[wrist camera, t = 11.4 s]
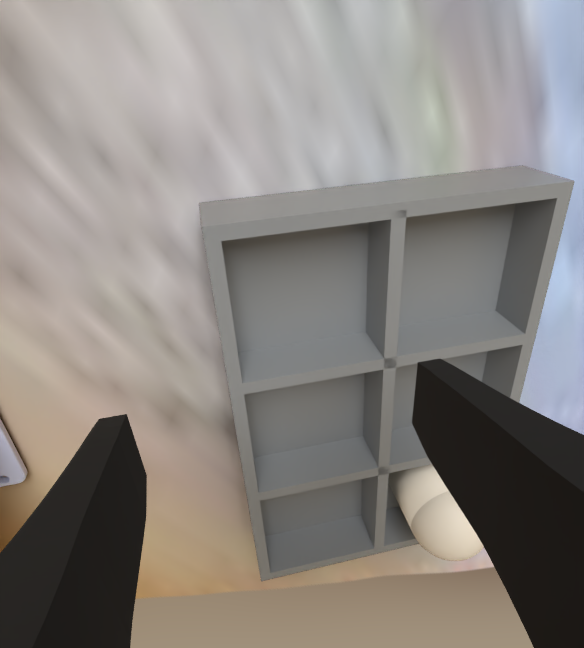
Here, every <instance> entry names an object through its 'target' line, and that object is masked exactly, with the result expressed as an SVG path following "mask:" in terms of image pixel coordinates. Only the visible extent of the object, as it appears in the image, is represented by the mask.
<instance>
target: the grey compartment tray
mask: <svg viewBox="0 0 584 648" xmlns="http://www.w3.org/2000/svg"><path fill="white" fill-rule="evenodd" d="M573 185H574V181H573V180H570V179H566V178H563V177H559V176H556V175H553V174H549V173H546V172H543V171H539V170H536V169H533V168H529V167H526V166H515V167H506V168H497V169H489V170H480V171H471V172H463V173H454V174H445V175H437V176H428V177H419V178H411V179H402V180H393V181H385V182H376V183H368V184H359V185H350V186H342V187H333V188H324V189H316V190H307V191H298V192H290V193H281V194H272V195H264V196H255V197H246V198H238V199H229V200H220V201H212V202H203V203H199V207H200V217H201V227H202V233H203V239H204V244H205V250H206V256H207V262H208V268H209V274H210V280H211V286H212V292H213V298H214V304H215V310H216V316H217V322H218V328H219V334H220V339H221V345H222V351H223V357H224V363H225V369H226V375H227V381H228V387H229V393H230V399H231V405H232V411H233V417H234V423H235V429H236V434H237V440H238V446H239V452H240V458H241V464H242V470H243V476H244V482H245V488H246V494H247V500H248V506H249V512H250V518H251V524H252V529H253V535H254V541H255V547H256V553H257V559H258V565H259V571H260V577H261V581H265V580H269V579H273V578H277V577H282V576H286V575H290V574H294V573H298V572H302V571H307V570H311V569H315V568H319V567H323V566H328V565H332V564H336V563H340V562H344V561H348V560H353V559H357V558H361V557H365V556H369V555H374V554H378V553H382V552H386V551H390V550H394V549H399V548H403V547H407V546H411V545H415V544H419V542H418V541H417V540H416V538H415V536H414V535H413V533H412V531H411V529H410V526H409V524H408V522H407V520H406V518H405V516H404V514H403V512H402V510H401V508H400V506H399V504H398V502H397V499H396V497H395V495H394V493H393V491H392V489H391V487H390V485H389V483H388V478H389V473H392V472H397V471H402V470H407V469H411V468H416V467H421V466H425V465H430V464H432V463H431V462H430V460H429V458H428V457H427V455H426V452H425V450H424V448H423V446H422V444H421V442H420V440H419V438H418V435H417V433H416V431H415V429H414V427H413V424H412V416H413V406H414V395H415V385H416V375H417V365H418V362H423V361H428V360H434V359H442V360H444V361H446V362H448V363H450V364H452V365H453V366H455V367H457V368H459V369H460V370H462V371H464V372H466V373H467V374H469V375H471V376H473V377H474V378H476V379H478V380H479V381H481V382H483V383H485V384H486V385H488V386H490V387H492V388H493V389H495V390H497V391H499V392H500V393H502V394H504V395H506V396H507V397H509V398H511V399H513V400H515V401H516V402H518V403H519V401H520V397H521V393H522V389H523V385H524V381H525V377H526V373H527V369H528V365H529V361H530V357H531V353H532V349H533V345H534V341H535V337H536V333H537V329H538V325H539V321H540V317H541V313H542V309H543V305H544V301H545V297H546V293H547V289H548V285H549V281H550V277H551V273H552V269H553V265H554V261H555V257H556V253H557V249H558V245H559V241H560V237H561V233H562V229H563V225H564V221H565V217H566V213H567V209H568V205H569V201H570V197H571V193H572V189H573Z"/></svg>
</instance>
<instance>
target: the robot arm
mask: <svg viewBox="0 0 584 648" xmlns="http://www.w3.org/2000/svg"><path fill="white" fill-rule="evenodd" d="M412 424H413V427H414V429H415V431H416V433H417V435H418V438H419V440H420V442H421V444H422V446H423V448H424V450H425V452H426V455H427V457H428V458H429V460H430V462H431V463H432V465H433V467H434V468H435V470H436V471H437V473H438V475H439V476H440V478H441V479H442V481H443V482H444V484H445V486H446V487H447V489H448V490H449V492H450V493H451V495H452V497H453V498H454V500H455V501H456V503H457V504H458V506H459V507H460V509H461V511H462V512H463V514H464V515H465V517H466V518H467V520H468V522H469V523H470V525H471V526H472V528H473V529H474V531H475V533H476V534H477V536H478V538H479V539H480V541H481V543H482V544H483V546H484V548H485V549H486V551H487V553H488V555H489V557H490V559H491V561H492V563H493V565H494V567H495V569H496V571H497V573H498V574H499V576H500V578H501V580H502V582H503V584H504V586H505V588H506V590H507V592H508V594H509V596H510V598H511V600H512V602H513V604H514V607H515V608H516V611H517V613H518V615H519V617H520V619H521V621H522V623H523V625H524V627H525V629H526V631H527V633H528V636H529V638H530V640H531V642H532V644H533V647H534V648H584V435H583V434H580V433H578V432H576V431H574V430H572V429H569V428H567V427H565V426H563V425H561V424H559V423H557V422H555V421H553V420H551V419H549V418H547V417H545V416H543V415H541V414H539V413H537V412H535V411H533V410H531V409H529V408H528V407H526V406H524V405H522V404H520V403H518V402H516V401H515V400H513V399H511V398H509V397H507V396H506V395H504V394H502V393H500V392H499V391H497V390H495V389H493V388H492V387H490V386H488V385H486V384H485V383H483V382H481V381H479V380H478V379H476V378H474V377H473V376H471V375H469V374H467V373H466V372H464V371H462V370H460V369H459V368H457V367H455V366H453V365H452V364H450V363H448V362H446V361H444V360H442V359H434V360H428V361H423V362H418V365H417V375H416V385H415V395H414V406H413V416H412ZM4 476H7V477H4ZM26 476H27V469H26V467H25V465H24V463H23V461H22V459H21V458H20V456H19V454H18V452H17V450H16V448H15V446H14V444H13V442H12V440H11V438H10V436H9V434H8V432H7V430H6V428H5V427H4V425H3V423H2V421H1V419H0V487H3V486H8V485H13V484H18V483H21V482H23V481H24V480H25V478H26ZM146 478H147V475H146V472H145V469H144V466H143V463H142V460H141V457H140V454H139V451H138V448H137V445H136V442H135V439H134V435H133V432H132V429H131V426H130V423H129V420H128V417H127V414H125V415H119V416H113V417H108V418H102V419H99V420H98V421H97V423H96V424H95V425H94V427H93V428H92V430H91V431H90V433H89V434H88V436H87V437H86V439H85V440H84V442H83V443H82V445H81V446H80V448H79V449H78V451H77V452H76V454H75V455H74V457H73V458H72V460H71V461H70V463H69V464H68V466H67V467H66V468H65V470H64V471H63V473H62V474H61V475H60V477H59V478H58V480H57V481H56V482H55V484H54V485H53V487H52V488H51V489H50V491H49V492H48V494H47V495H46V496H45V498H44V499H43V500H42V502H41V503H40V504H39V506H38V507H37V508H36V509H35V511H34V512H33V513H32V515H31V516H30V517H29V518H28V520H27V521H26V522H25V523H24V525H23V526H22V527H21V529H20V530H19V531H18V532H17V534H16V535H15V536H14V537H13V539H12V540H11V541H10V542H9V543H8V545H7V546H6V547H5V548H4V549H3V551H2V552H1V553H0V648H130V640H131V630H132V629H131V628H132V619H133V611H134V604H135V596H136V589H137V582H138V574H139V567H140V560H141V552H142V545H143V537H144V529H145V521H146Z"/></svg>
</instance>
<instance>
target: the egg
mask: <svg viewBox="0 0 584 648" xmlns="http://www.w3.org/2000/svg"><path fill="white" fill-rule="evenodd" d="M388 483H389V485H390V487H391V489H392V491H393V493H394V495H395V497H396V499H397V502H398V504H399V506H400V508H401V510H402V512H403V514H404V516H405V518H406V520H407V522H408V524H409V526H410V529H411V531H412V533H413V535H414V536H415V538H416V540H417V541H418V542H419V544H420V545H421V546H422V547H423V548H424V549H425V550H427V551H428V552H429V553H431V554H432V555H434V556H436V557H438V558H441V559H444V560H449V561H461V560H466V559H468V558H471V557H473V556H475V555H476V554H477V553H479V552H480V551H481V550H482V549H483V548H484V546H483V544H482V543H481V541H480V539H479V538H478V536H477V534H476V533H475V531H474V529H473V528H472V526H471V525H470V523H469V522H468V520H467V518H466V517H465V515H464V514H463V512H462V511H461V509H460V507H459V506H458V504H457V503H456V501H455V500H454V498H453V497H452V495H451V493H450V492H449V490H448V489H447V487H446V486H445V484H444V482H443V481H442V479H441V478H440V476H439V475H438V473H437V471H436V470H435V468H434V467H433V465H432V464H430V465H425V466H421V467H416V468H411V469H407V470H402V471H397V472H392V473H389V478H388Z"/></svg>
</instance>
